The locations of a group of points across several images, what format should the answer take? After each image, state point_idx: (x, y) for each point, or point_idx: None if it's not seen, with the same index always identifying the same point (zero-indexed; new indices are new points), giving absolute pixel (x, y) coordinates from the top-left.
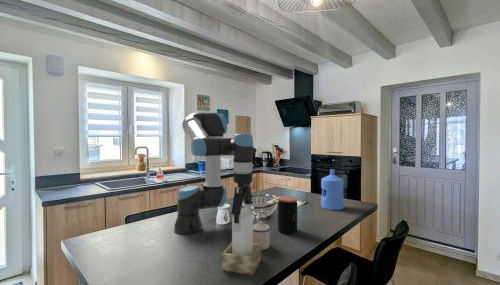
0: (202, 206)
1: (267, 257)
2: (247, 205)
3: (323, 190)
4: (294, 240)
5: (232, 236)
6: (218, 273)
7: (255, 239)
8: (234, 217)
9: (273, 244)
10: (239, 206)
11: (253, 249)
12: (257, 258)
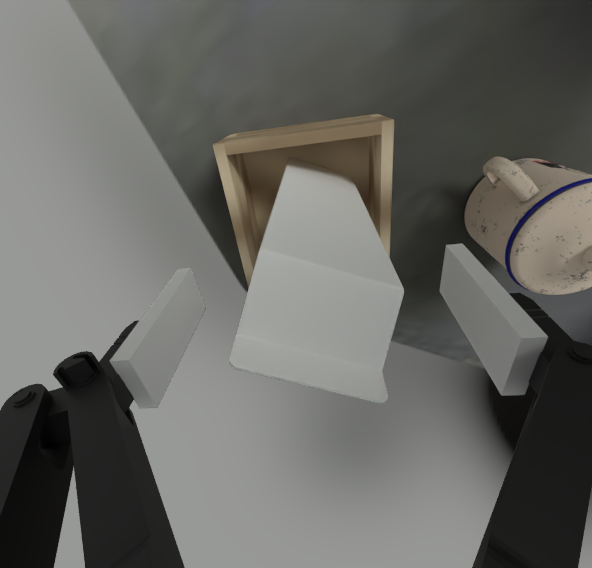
0: None
1: (398, 264)
2: (503, 364)
3: None
4: (579, 318)
5: (277, 193)
6: (203, 132)
7: (491, 211)
8: (104, 358)
9: None
10: (61, 500)
11: None
12: None
